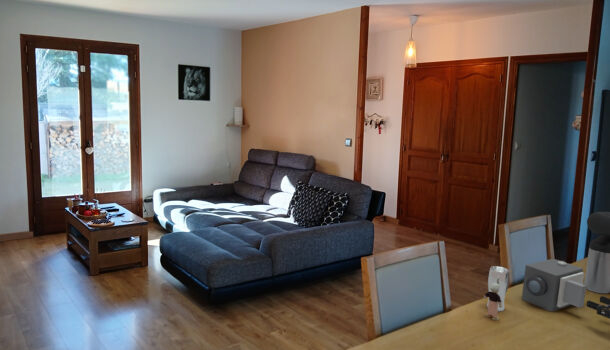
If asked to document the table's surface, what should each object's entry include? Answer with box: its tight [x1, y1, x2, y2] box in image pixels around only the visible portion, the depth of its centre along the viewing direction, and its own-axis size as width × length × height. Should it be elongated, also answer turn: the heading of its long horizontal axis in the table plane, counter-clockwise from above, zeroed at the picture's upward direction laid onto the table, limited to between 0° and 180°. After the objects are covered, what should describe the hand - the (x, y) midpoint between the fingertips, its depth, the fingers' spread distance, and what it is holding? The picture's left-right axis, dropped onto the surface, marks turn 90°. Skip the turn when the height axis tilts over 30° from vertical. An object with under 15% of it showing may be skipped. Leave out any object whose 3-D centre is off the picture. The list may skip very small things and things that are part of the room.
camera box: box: [521, 258, 584, 313], centre depth 174 cm, size 21×12×15 cm, turn 121°
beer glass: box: [486, 265, 510, 312], centre depth 167 cm, size 7×7×15 cm
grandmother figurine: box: [483, 283, 502, 321], centre depth 160 cm, size 8×4×13 cm, turn 37°
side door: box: [557, 271, 587, 309], centre depth 167 cm, size 14×7×11 cm, turn 121°
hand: (593, 300), depth 158 cm, fingers open, 8 cm apart
